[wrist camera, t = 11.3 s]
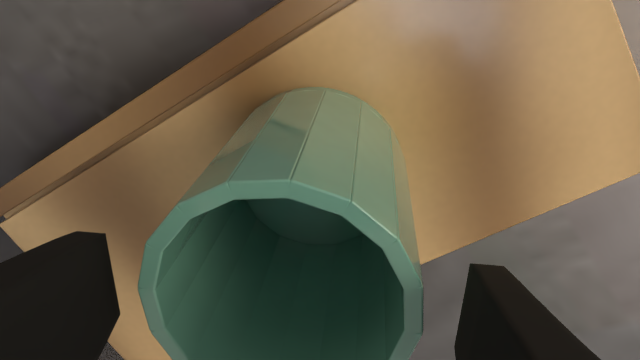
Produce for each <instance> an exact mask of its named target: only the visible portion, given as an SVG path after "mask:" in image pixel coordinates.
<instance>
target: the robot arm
mask: <svg viewBox="0 0 640 360" xmlns="http://www.w3.org/2000/svg"><path fill="white" fill-rule="evenodd" d="M119 316H120V309H119V303H118V298H117V293H116V287H115V282H114V276H113V271H112V266H111V260H110V255H109V250H108V244H107V239H106V233H95V232H83V231H75V232H73V233H70V234H67V235H64V236H61V237H59V238H56V239H54V240H51V241H49V242H47V243H44V244H42V245H40V246H37V247H35V248H33V249H31V250H28V251H26V252H24V253H22V254H19V255H17V256H15V257H13V258H11V259H8V260H6V261H4V262H2V263H0V360H97V359H98V358H99V356H100V354H101V352H102V350H103V348H104V346H105V345H106V343H107V341H108V339H109V337H110V335H111V333H112V331H113V329H114V326H115V324H116V322H117V320H118V318H119ZM454 347H455V356H456V360H601V359H599V358H598V357H597V356H596V355H595V354H594V353H593V352H592V351H591V350H590V349H588V348H587V347H586V346H585V345H584V344H583V343H582V342H581V341H580V340H579V339H578V338H577V337H575V336H574V335H573V334H572V333H571V332H570V331H569V330H568V329H567V328H566V327H565V326H564V325H563V324H562V323H561V322H560V321H559V320H558V319H557V318H556V317H555V316H554V315H553V314H552V313H551V312H550V311H549V310H548V309H547V308H546V307H545V306H544V305H543V304H542V303H541V302H540V301H538V300H537V299H536V298H535V297H534V296H533V295H532V294H531V293H530V292H529V291H528V290H527V288H526V287H525V286H524V285H523V284H522V283H521V282H520V281H519V280H517V279H516V278H515V277H514V276H513V275H512V274H511V273H510V272H509V271H508V270H507V269H506V268H505V267H504V266H495V265H483V264H471V263H470V267H469V273H468V278H467V283H466V288H465V294H464V299H463V304H462V310H461V315H460V320H459V325H458V331H457V336H456V341H455V346H454Z"/></svg>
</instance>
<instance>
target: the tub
mask: <svg viewBox="0 0 640 360" xmlns="http://www.w3.org/2000/svg"><path fill="white" fill-rule="evenodd" d="M138 292H139V296H140V299H141V303H142V306H143V309H144V313H145V316H146V320H147V323H148V326H149V330H150V331H151V333H152V335H153V336H154V337H155V338H156V340H157V341H158V342H159V344H160V345H161V346H162V347H163V349H164V350H165V351H166V352H167V354H168V355H169V356H170V357H171V359H172V360H409V358H410V356H411V354H412V353H413V351H414V349H415V347H416V345H417V343H418V342H419V340H420V338H421V336H422V333H423V281H422V274H421V267H420V260H419V253H418V246H417V239H416V232H415V225H414V219H413V212H412V205H411V198H410V191H409V184H408V177H407V170H406V163H405V157H404V155H403V153H402V150H401V146H400V144H399V141H398V139H397V137H396V135H395V133H394V131H393V129H392V128H391V126H390V125H389V124H388V122H387V121H386V120H385V118H384V117H383V116H382V115H381V114H380V113H379V112H378V111H377V110H376V109H374V108H373V107H372V106H370V105H369V104H368V103H366V102H365V101H363V100H361V99H360V98H358V97H356V96H354V95H351V94H349V93H346V92H344V91H340V90H336V89H332V88H325V87H304V88H296V89H293V90H289V91H285V92H283V93H280V94H278V95H276V96H274V97H272V98H270V99H269V100H267V101H265V102H264V103H263V104H261V105H260V106H259V107H257V108H256V109H254V111H253V112H252V113H251V114H250V115H249V117H248V118H247V119H246V120H245V121H244V123H243V124H242V125H241V126H240V128H239V129H238V130H237V131H236V132H235V134H234V135H233V136H232V137H231V138H230V140H229V141H228V142H227V143H226V144H225V146H224V147H223V148H222V149H221V151H220V152H219V153H218V154H217V155H216V157H215V158H214V159H213V160H212V161H211V163H210V164H209V165H208V166H207V167H206V169H205V170H204V171H203V172H202V174H201V175H200V176H199V177H198V178H197V180H196V181H195V182H194V183H193V184H192V186H191V187H190V188H189V189H188V191H187V192H186V193H185V194H184V195H183V197H182V198H181V199H180V200H179V201H178V203H177V204H176V205H175V206H174V208H173V209H172V210H171V211H170V212H169V214H168V215H167V216H166V217H165V219H164V220H163V221H162V222H161V224H160V225H159V226H158V227H157V228H156V230H155V231H154V232H153V233H152V235H151V236H150V237H149V238H148V240H147V241H146V243H145V247H144V252H143V258H142V263H141V269H140V274H139V280H138Z"/></svg>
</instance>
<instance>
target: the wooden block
mask: <svg viewBox="0 0 640 360" xmlns="http://www.w3.org/2000/svg"><path fill="white" fill-rule="evenodd" d="M304 87H325V88H332V89H336V90H340V91H344V92H346V93H349V94H351V95H354V96H356V97H358V98H360V99H361V100H363V101H365V102H366V103H368V104H369V105H370V106H372V107H373V108H374V109H376V110H377V111H378V112H379V113H380V114H381V115H382V116H383V117H384V118H385V120H386V121H387V122H388V124H389V125H390V126H391V128H392V129H393V131H394V133H395V135H396V137H397V139H398V141H399V144H400V146H401V150H402V153H403V155H404V157H405V163H406V170H407V177H408V184H409V191H410V198H411V205H412V212H413V219H414V225H415V232H416V239H417V246H418V253H419V260H420V265H421V264H423V263H426V262H428V261H430V260H433V259H435V258H437V257H440V256H442V255H445V254H447V253H449V252H452V251H454V250H457V249H459V248H461V247H464V246H466V245H468V244H471V243H473V242H476V241H478V240H480V239H483V238H485V237H488V236H490V235H492V234H495V233H497V232H500V231H502V230H504V229H507V228H509V227H511V226H514V225H516V224H519V223H521V222H523V221H526V220H528V219H531V218H533V217H535V216H538V215H540V214H542V213H545V212H547V211H550V210H552V209H554V208H557V207H559V206H562V205H564V204H566V203H569V202H571V201H574V200H576V199H578V198H581V197H583V196H585V195H588V194H590V193H593V192H595V191H597V190H600V189H602V188H605V187H607V186H609V185H612V184H614V183H616V182H619V181H621V180H624V179H626V178H628V177H631V176H633V175H636V174H638V173H640V77H639V74H638V71H637V69H636V66H635V63H634V60H633V58H632V55H631V52H630V49H629V46H628V44H627V41H626V38H625V35H624V33H623V30H622V27H621V24H620V22H619V19H618V16H617V13H616V11H615V8H614V5H613V2H612V0H283V1H281V2H280V3H278V4H277V5H275V6H274V7H272V8H271V9H269V10H268V11H266V12H265V13H263V14H262V15H260V16H259V17H257V18H256V19H254V20H253V21H251V22H250V23H248V24H247V25H245V26H244V27H242V28H241V29H239V30H238V31H236V32H235V33H233V34H232V35H230V36H229V37H227V38H226V39H224V40H223V41H221V42H219V43H218V44H216V45H215V46H213V47H212V48H210V49H209V50H207V51H206V52H204V53H203V54H201V55H200V56H198V57H197V58H195V59H194V60H192V61H191V62H189V63H188V64H186V65H185V66H183V67H182V68H180V69H179V70H177V71H176V72H174V73H173V74H171V75H170V76H168V77H167V78H165V79H164V80H162V81H161V82H159V83H158V84H156V85H155V86H153V87H152V88H150V89H149V90H147V91H146V92H144V93H143V94H141V95H139V96H138V97H136V98H135V99H133V100H132V101H130V102H129V103H127V104H126V105H124V106H123V107H121V108H120V109H118V110H117V111H115V112H114V113H112V114H111V115H109V116H108V117H106V118H105V119H103V120H102V121H100V122H99V123H97V124H96V125H94V126H93V127H91V128H90V129H88V130H87V131H85V132H84V133H82V134H81V135H79V136H78V137H76V138H75V139H73V140H72V141H70V142H69V143H67V144H66V145H64V146H63V147H61V148H59V149H58V150H56V151H55V152H53V153H52V154H50V155H49V156H47V157H46V158H44V159H43V160H41V161H40V162H38V163H37V164H35V165H34V166H32V167H31V168H29V169H28V170H26V171H25V172H23V173H22V174H20V175H19V176H17V177H16V178H14V179H13V180H11V181H10V182H8V183H7V184H5V185H4V186H2V187H1V188H0V217H1V216H2V215H3V216H4V217H5V218H6V220H5V221H3V222H2V223H0V227H1V228H2V229H3V230H4V231H5V232H6V233H7V234H8V235H9V236H10V237H11V239H12V240H13V241H14V242H15V243H16V244H17V245H18V246H19V247H20V248H21V249H22V250H23V251H24V252H26V251H28V250H31V249H33V248H35V247H37V246H40V245H42V244H44V243H47V242H49V241H51V240H54V239H56V238H59V237H61V236H64V235H67V234H70V233H73V232H75V231H83V232H95V233H106V239H107V244H108V250H109V255H110V260H111V266H112V271H113V276H114V282H115V287H116V293H117V298H118V303H119V309H120V316H119V318H118V320H117V322H116V324H115V326H114V329H113V331H112V333H111V335H110V337H109V339H108V342H109V343H110V344H111V346H112V347H113V348H114V349H115V350H116V351H117V352H118V353H119V354H120V355H121V356H122V357H123V358H124V359H125V360H172V359H171V357H170V356H169V355H168V354H167V352H166V351H165V350H164V349H163V347H162V346H161V345H160V344H159V342H158V341H157V340H156V338H155V337H154V336H153V335H152V333H151V331H150V330H149V326H148V323H147V320H146V316H145V313H144V309H143V306H142V303H141V299H140V296H139V292H138V280H139V274H140V269H141V263H142V258H143V252H144V247H145V243H146V241H147V240H148V238H149V237H150V236H151V235H152V233H153V232H154V231H155V230H156V228H157V227H158V226H159V225H160V224H161V222H162V221H163V220H164V219H165V217H166V216H167V215H168V214H169V212H170V211H171V210H172V209H173V208H174V206H175V205H176V204H177V203H178V201H179V200H180V199H181V198H182V197H183V195H184V194H185V193H186V192H187V191H188V189H189V188H190V187H191V186H192V184H193V183H194V182H195V181H196V180H197V178H198V177H199V176H200V175H201V174H202V172H203V171H204V170H205V169H206V167H207V166H208V165H209V164H210V163H211V161H212V160H213V159H214V158H215V157H216V155H217V154H218V153H219V152H220V151H221V149H222V148H223V147H224V146H225V144H226V143H227V142H228V141H229V140H230V138H231V137H232V136H233V135H234V134H235V132H236V131H237V130H238V129H239V128H240V126H241V125H242V124H243V123H244V121H245V120H246V119H247V118H248V117H249V115H250V114H251V113H252V112H253V111H254V109H256V108H257V107H259V106H260V105H261V104H263V103H264V102H265V101H267V100H269V99H270V98H272V97H274V96H276V95H278V94H280V93H283V92H285V91H289V90H293V89H296V88H304Z"/></svg>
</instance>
